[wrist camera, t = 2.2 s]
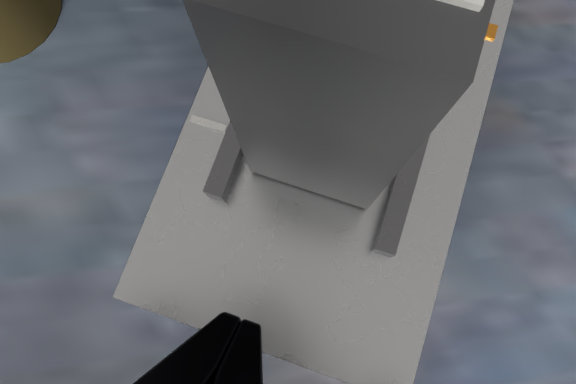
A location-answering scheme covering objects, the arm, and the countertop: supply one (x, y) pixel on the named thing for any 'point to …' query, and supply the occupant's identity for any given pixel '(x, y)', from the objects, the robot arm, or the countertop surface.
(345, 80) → the fader tab
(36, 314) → the countertop surface
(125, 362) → the countertop surface
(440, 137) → the plate
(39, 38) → the cork
